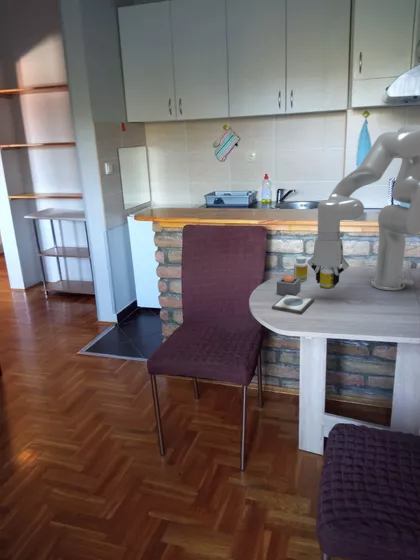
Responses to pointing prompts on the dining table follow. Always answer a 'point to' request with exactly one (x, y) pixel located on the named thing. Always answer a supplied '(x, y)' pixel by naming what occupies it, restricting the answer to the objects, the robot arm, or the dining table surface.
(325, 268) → the supplement bottle
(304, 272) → the supplement bottle
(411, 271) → the dining table surface
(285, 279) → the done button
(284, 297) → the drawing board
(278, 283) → the button housing
